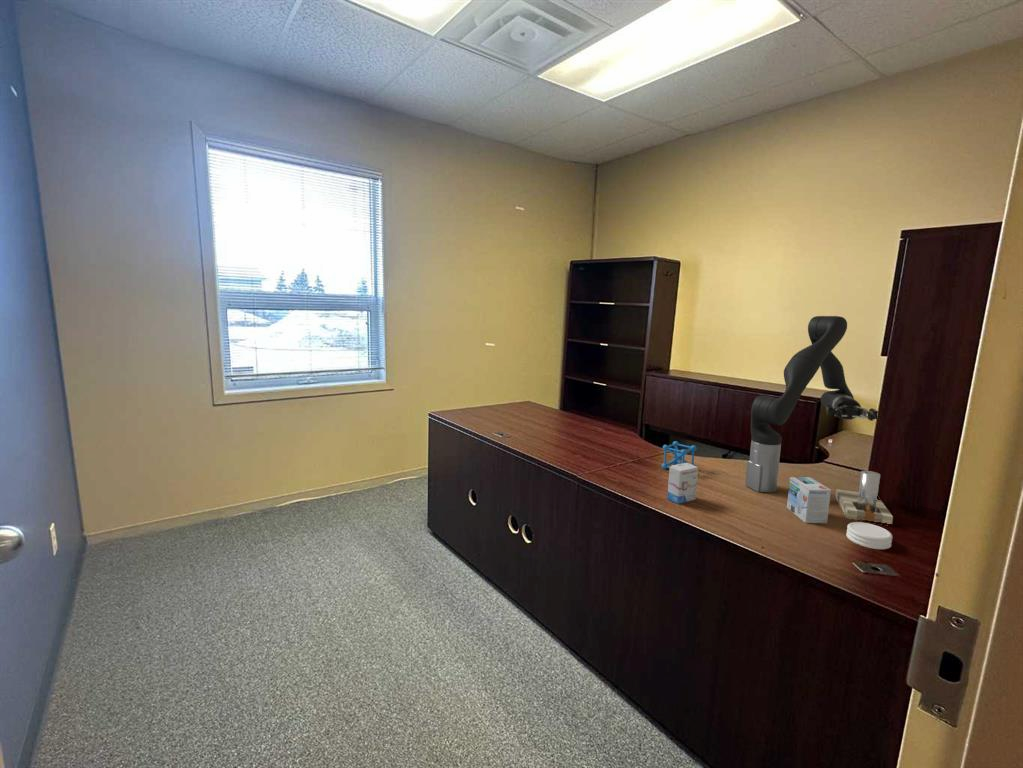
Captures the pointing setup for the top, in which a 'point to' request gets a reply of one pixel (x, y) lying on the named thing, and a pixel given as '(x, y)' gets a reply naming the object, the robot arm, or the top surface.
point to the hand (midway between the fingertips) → (856, 416)
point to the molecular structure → (677, 456)
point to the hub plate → (850, 510)
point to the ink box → (682, 483)
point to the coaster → (869, 535)
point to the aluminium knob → (868, 491)
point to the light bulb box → (808, 499)
